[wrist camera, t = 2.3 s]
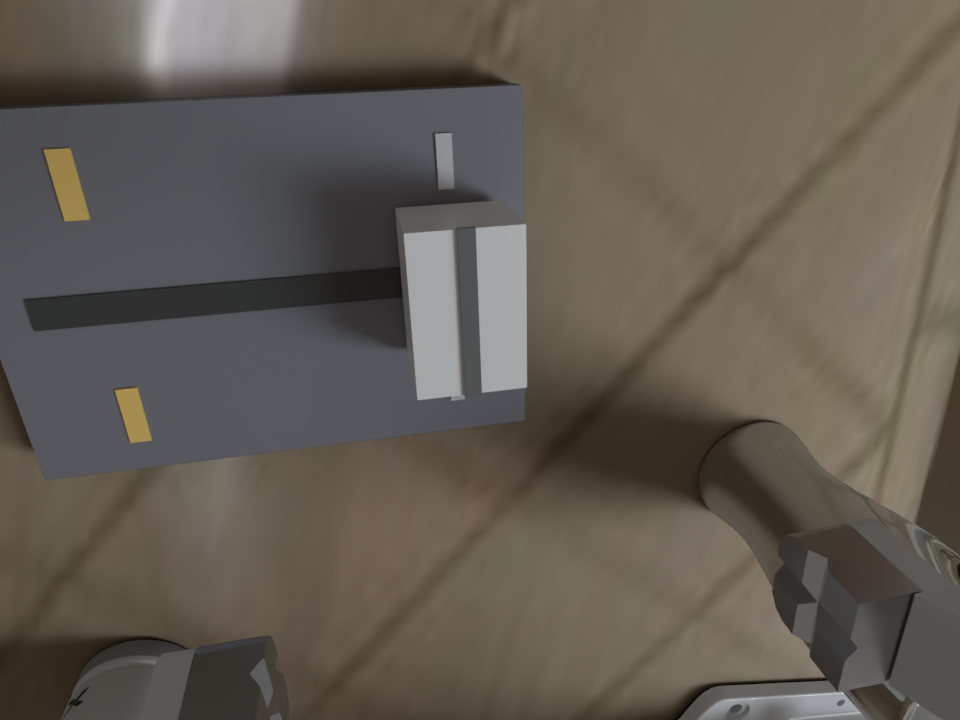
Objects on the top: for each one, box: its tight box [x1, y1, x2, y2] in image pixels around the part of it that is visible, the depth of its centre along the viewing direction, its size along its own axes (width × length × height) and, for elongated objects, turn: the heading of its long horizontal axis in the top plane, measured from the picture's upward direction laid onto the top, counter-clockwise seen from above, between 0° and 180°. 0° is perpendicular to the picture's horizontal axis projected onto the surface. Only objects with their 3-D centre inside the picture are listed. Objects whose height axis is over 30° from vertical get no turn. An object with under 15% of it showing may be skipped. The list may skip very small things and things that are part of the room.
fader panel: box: [0, 83, 525, 480], centre depth 27 cm, size 20×14×2 cm
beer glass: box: [698, 422, 960, 720], centre depth 30 cm, size 7×7×15 cm
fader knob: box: [395, 200, 527, 400], centre depth 25 cm, size 4×6×4 cm, turn 2°
